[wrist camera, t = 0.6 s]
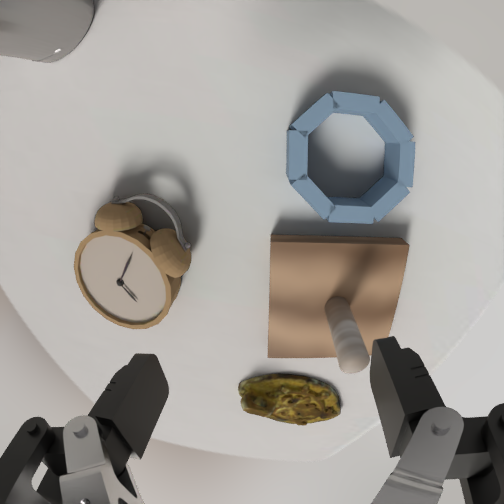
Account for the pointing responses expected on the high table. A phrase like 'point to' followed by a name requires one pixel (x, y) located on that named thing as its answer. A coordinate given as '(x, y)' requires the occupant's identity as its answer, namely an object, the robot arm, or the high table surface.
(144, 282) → the alarm clock
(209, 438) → the high table surface
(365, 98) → the rubber loop
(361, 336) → the wooden peg stand
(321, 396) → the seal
